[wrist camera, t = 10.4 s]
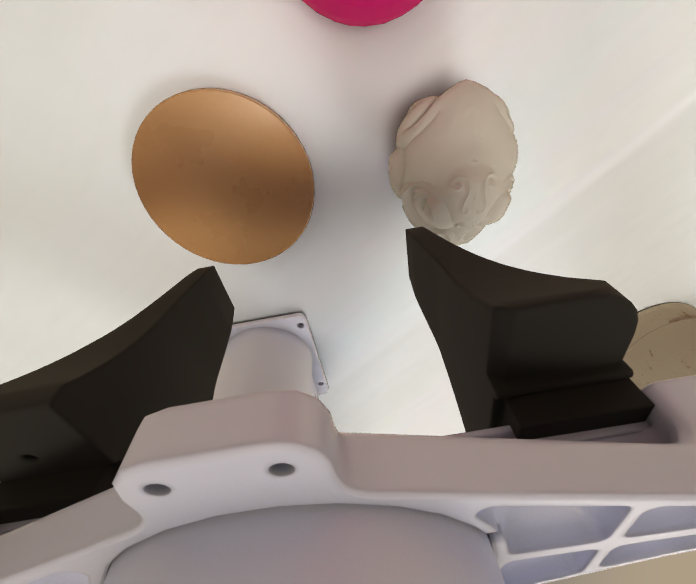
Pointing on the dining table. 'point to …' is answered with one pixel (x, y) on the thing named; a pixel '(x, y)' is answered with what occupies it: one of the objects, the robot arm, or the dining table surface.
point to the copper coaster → (223, 176)
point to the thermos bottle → (663, 344)
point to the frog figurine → (455, 161)
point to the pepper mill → (362, 10)
